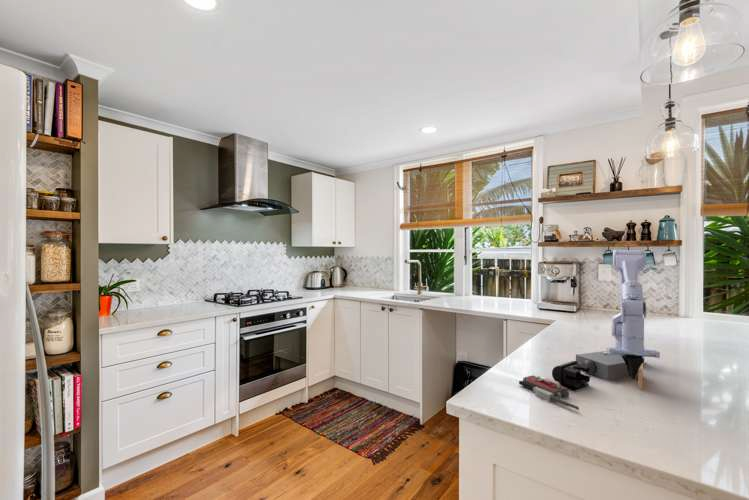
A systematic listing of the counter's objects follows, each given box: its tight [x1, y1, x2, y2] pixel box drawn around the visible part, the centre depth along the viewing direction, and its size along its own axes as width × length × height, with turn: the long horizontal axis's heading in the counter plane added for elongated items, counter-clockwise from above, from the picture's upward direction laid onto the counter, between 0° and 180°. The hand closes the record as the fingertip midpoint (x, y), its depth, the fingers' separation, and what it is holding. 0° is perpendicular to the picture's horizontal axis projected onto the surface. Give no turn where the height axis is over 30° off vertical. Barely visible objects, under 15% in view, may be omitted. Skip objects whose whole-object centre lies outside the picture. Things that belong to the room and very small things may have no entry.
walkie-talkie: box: [518, 374, 580, 411], centre depth 102 cm, size 9×4×20 cm
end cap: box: [551, 360, 591, 392], centre depth 111 cm, size 10×7×7 cm
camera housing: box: [575, 350, 639, 381], centre depth 123 cm, size 17×12×6 cm
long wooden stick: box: [637, 364, 644, 390], centre depth 113 cm, size 14×1×4 cm, turn 142°
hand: (632, 378), depth 112 cm, fingers closed
